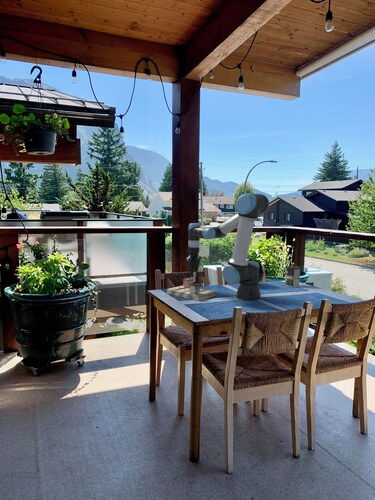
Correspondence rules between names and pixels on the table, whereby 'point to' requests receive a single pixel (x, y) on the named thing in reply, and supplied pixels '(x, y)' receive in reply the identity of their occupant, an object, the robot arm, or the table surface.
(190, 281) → the fader terracotta
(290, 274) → the coffee can
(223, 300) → the table surface
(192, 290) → the fader grey
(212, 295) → the tan muffin tray
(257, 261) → the dark grey cylinder
